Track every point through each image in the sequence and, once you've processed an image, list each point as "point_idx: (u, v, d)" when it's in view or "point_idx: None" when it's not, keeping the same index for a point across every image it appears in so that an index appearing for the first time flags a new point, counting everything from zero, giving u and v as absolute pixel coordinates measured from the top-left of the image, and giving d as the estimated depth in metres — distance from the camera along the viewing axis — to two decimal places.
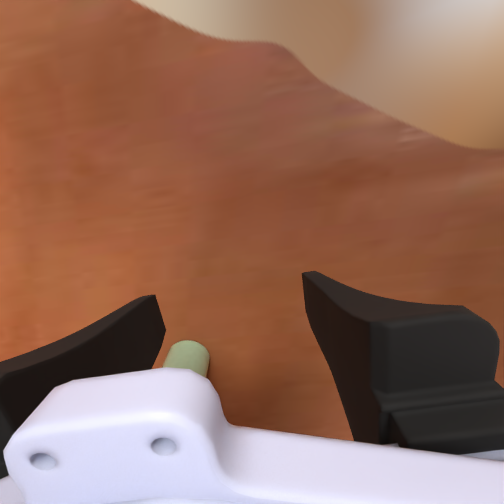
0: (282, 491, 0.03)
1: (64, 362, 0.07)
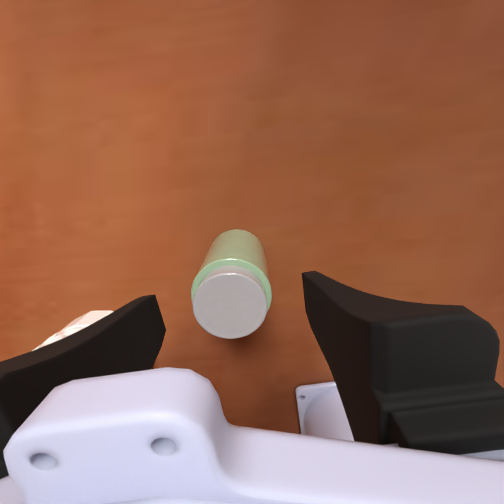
0: (283, 491, 0.03)
1: (64, 362, 0.07)
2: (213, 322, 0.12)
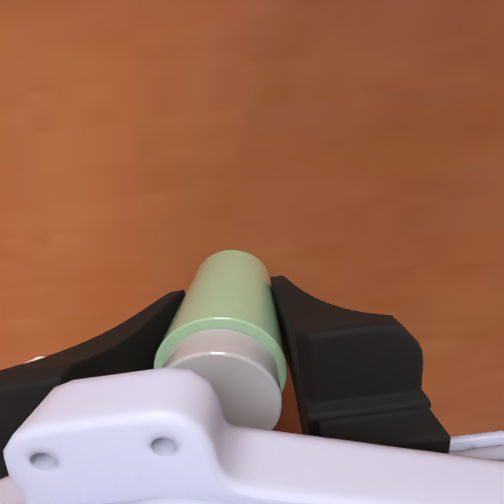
0: (282, 491, 0.03)
1: (116, 355, 0.07)
2: None
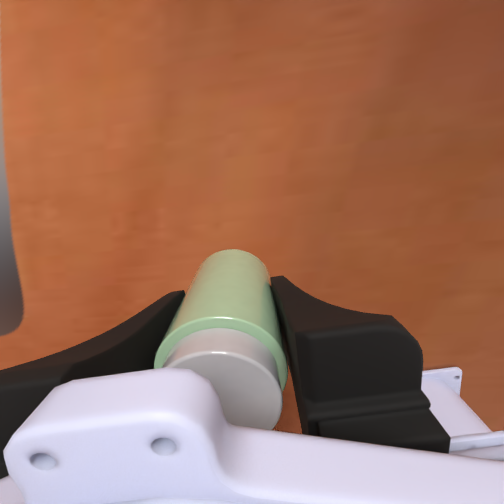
0: (282, 492, 0.03)
1: (116, 355, 0.07)
2: None
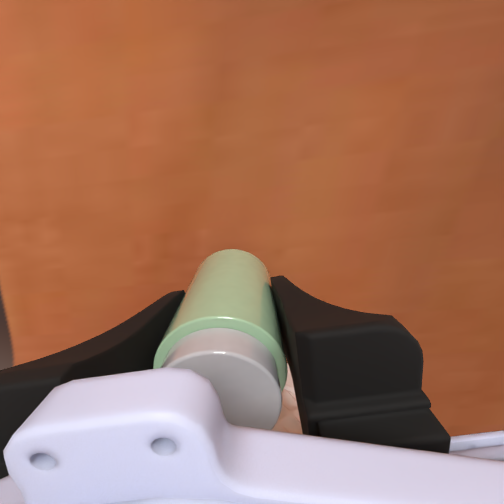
0: (282, 491, 0.03)
1: (116, 355, 0.07)
2: None
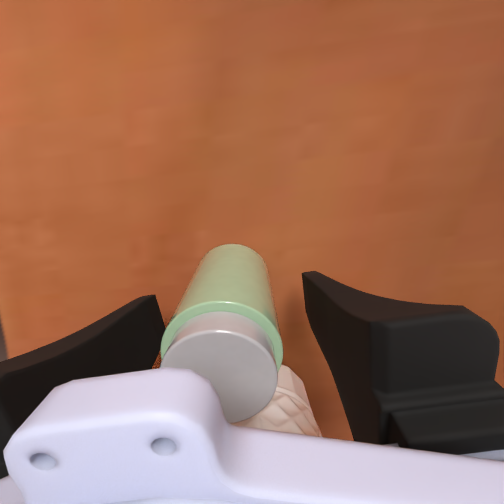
0: (282, 492, 0.03)
1: (64, 362, 0.07)
2: None
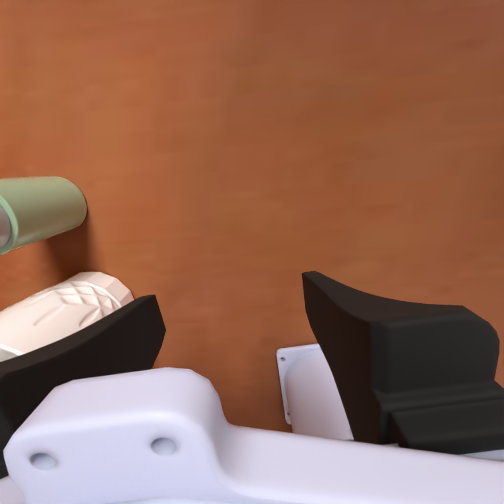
0: (282, 491, 0.03)
1: (64, 362, 0.07)
2: None
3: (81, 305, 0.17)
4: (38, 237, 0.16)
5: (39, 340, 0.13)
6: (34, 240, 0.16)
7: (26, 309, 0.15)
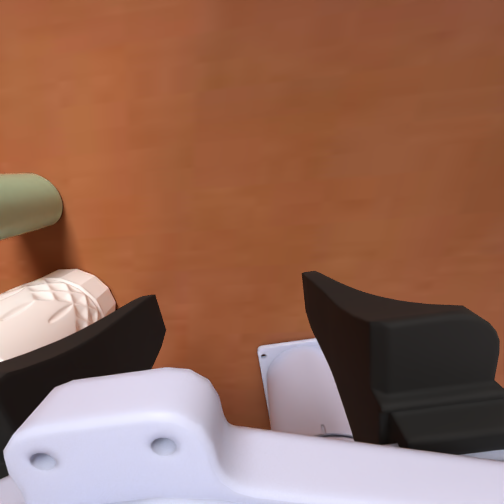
0: (283, 491, 0.03)
1: (64, 362, 0.07)
2: None
3: (53, 301, 0.17)
4: (8, 233, 0.16)
5: (2, 335, 0.13)
6: (3, 236, 0.16)
7: None
